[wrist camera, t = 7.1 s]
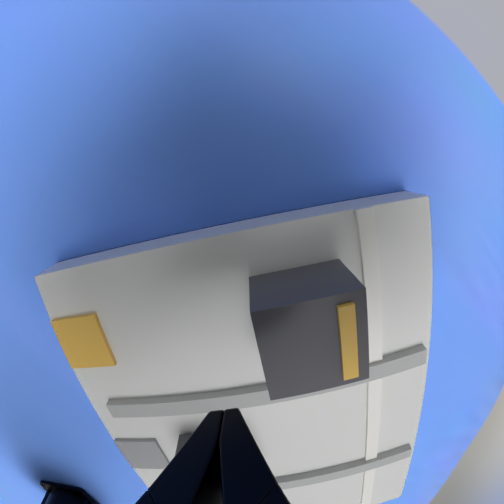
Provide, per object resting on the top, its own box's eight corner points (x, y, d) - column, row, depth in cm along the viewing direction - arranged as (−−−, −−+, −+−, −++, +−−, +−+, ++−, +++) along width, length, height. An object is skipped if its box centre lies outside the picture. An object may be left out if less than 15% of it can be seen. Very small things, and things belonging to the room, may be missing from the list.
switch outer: (265, 353, 15) (270, 404, 12) (248, 276, 14) (249, 315, 10) (346, 336, 15) (370, 381, 11) (338, 258, 14) (367, 290, 10)
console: (187, 510, 23) (184, 535, 20) (56, 262, 16) (28, 280, 13) (393, 477, 23) (402, 500, 20) (405, 190, 16) (435, 197, 13)
